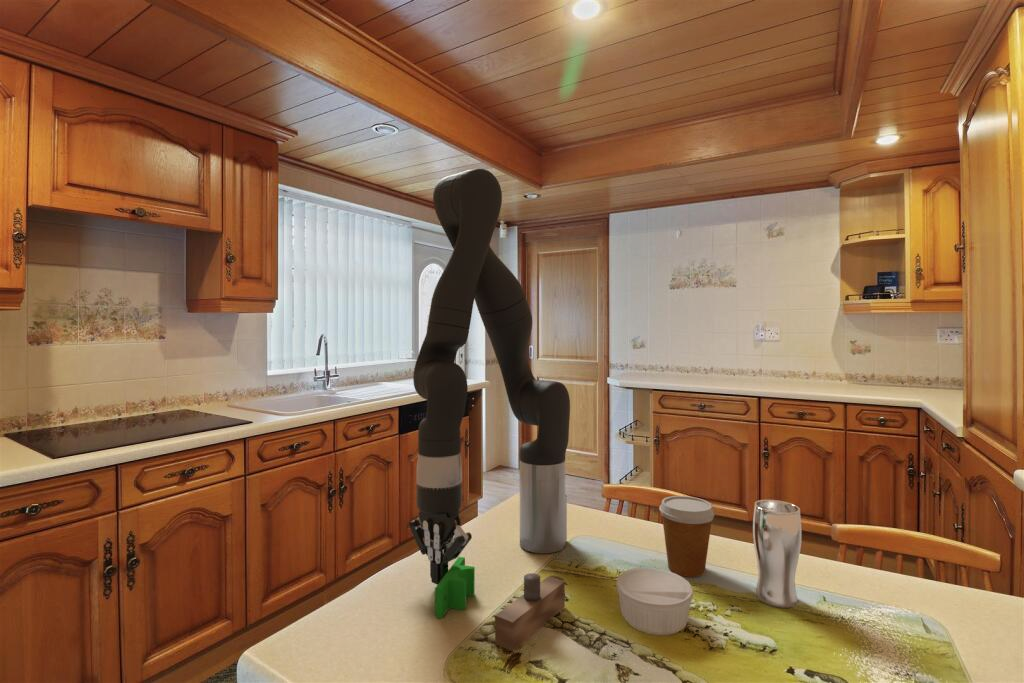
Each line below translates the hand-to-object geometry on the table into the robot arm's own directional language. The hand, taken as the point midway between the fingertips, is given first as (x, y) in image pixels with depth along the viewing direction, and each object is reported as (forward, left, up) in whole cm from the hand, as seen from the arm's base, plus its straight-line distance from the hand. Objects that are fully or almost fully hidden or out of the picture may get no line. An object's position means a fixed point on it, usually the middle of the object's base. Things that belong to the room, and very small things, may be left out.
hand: (439, 582), depth 87 cm
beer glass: (-29, +47, -1) cm, 55 cm away
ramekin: (-12, +33, -1) cm, 35 cm away
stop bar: (0, +19, -1) cm, 19 cm away
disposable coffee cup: (-31, +32, -1) cm, 44 cm away
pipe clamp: (+1, +5, -1) cm, 5 cm away
